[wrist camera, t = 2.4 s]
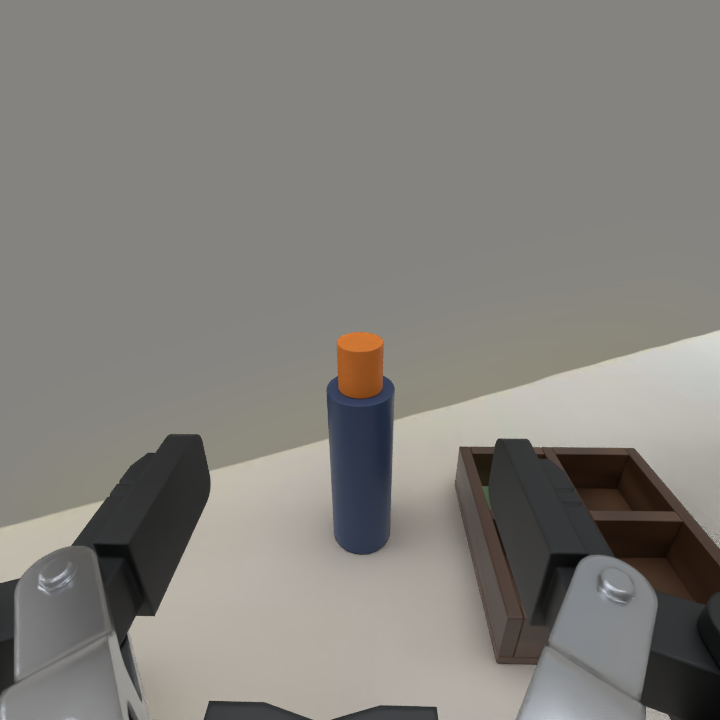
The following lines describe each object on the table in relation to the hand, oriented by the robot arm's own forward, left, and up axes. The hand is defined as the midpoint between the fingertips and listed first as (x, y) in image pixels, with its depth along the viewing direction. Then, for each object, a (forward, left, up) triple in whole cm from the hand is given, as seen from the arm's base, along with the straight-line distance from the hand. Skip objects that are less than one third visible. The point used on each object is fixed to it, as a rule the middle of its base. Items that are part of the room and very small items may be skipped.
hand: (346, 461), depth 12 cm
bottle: (0, -12, -17) cm, 21 cm away
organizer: (-14, -10, -17) cm, 24 cm away
